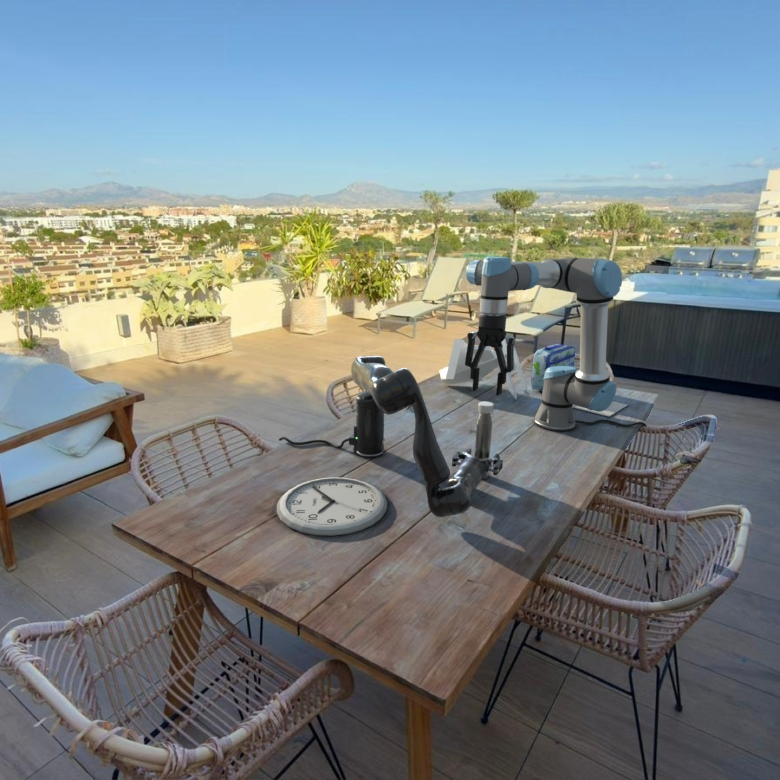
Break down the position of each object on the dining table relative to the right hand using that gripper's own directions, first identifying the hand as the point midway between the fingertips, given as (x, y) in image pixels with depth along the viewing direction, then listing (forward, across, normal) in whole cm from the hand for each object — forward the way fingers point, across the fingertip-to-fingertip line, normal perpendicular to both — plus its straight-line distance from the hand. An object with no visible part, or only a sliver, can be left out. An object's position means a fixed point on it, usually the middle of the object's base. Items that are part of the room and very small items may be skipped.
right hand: (486, 391), depth 153 cm
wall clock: (+27, +28, +39) cm, 55 cm away
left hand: (+20, 0, -2) cm, 21 cm away
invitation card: (+27, -21, -90) cm, 97 cm away
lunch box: (+27, +4, -106) cm, 109 cm away
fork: (+27, +49, -47) cm, 73 cm away
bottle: (+27, 0, 0) cm, 27 cm away
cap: (+4, 0, 0) cm, 4 cm away
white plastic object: (+27, +31, -81) cm, 91 cm away
